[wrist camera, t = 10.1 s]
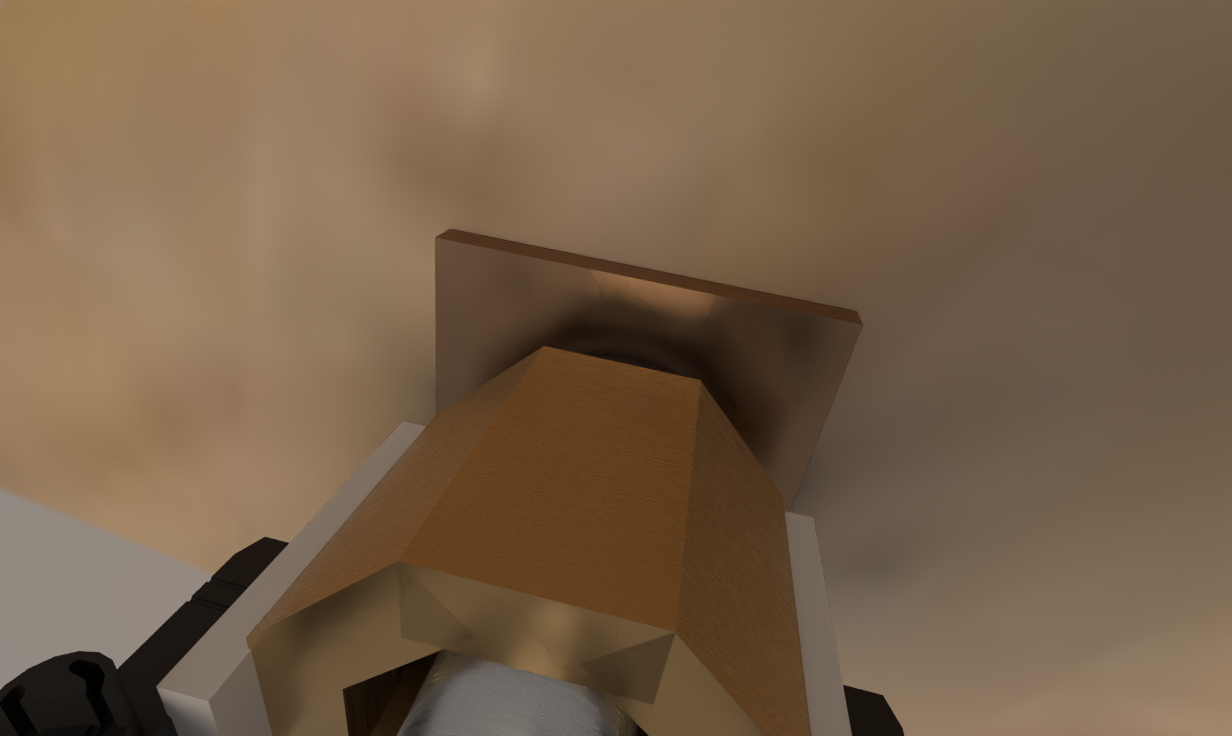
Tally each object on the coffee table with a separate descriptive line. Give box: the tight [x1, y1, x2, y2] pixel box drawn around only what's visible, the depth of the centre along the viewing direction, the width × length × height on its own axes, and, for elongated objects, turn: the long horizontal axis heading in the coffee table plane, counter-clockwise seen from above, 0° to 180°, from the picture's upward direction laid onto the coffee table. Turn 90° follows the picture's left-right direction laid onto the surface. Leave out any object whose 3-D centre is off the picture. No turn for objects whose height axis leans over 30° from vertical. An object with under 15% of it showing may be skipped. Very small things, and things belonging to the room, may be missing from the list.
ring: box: [246, 346, 811, 736], centre depth 11 cm, size 8×8×6 cm
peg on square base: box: [397, 229, 863, 736], centre depth 11 cm, size 10×10×12 cm
